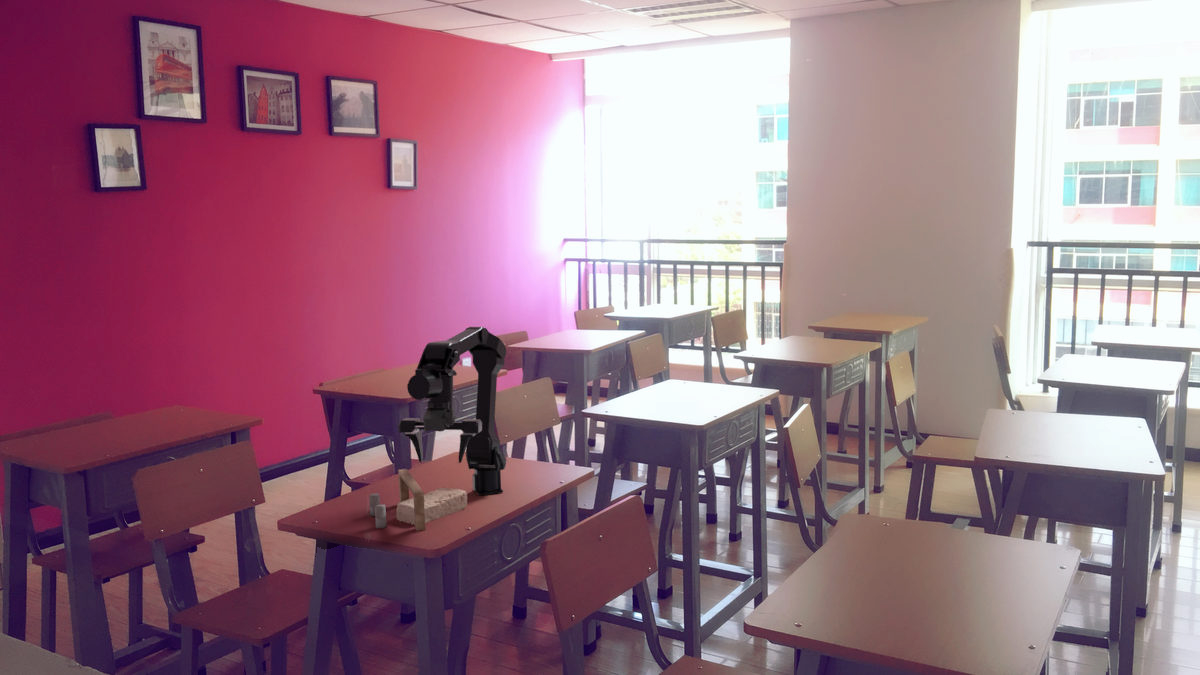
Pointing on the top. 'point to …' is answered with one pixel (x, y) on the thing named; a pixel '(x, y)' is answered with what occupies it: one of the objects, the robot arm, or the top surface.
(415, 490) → the shelf frame
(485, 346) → the robot arm
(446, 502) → the brick
